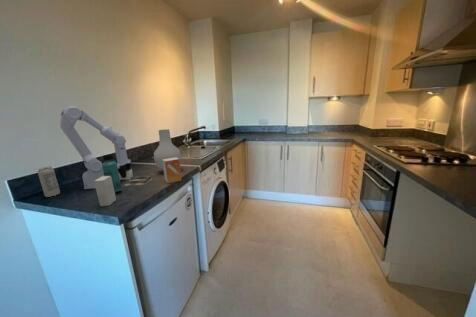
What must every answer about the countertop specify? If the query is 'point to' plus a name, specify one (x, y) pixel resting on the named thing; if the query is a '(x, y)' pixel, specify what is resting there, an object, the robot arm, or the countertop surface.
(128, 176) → the lock block
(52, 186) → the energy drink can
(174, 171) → the small box
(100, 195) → the skincare box
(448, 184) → the countertop surface
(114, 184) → the beverage bottle
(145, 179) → the channel board
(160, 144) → the vase
